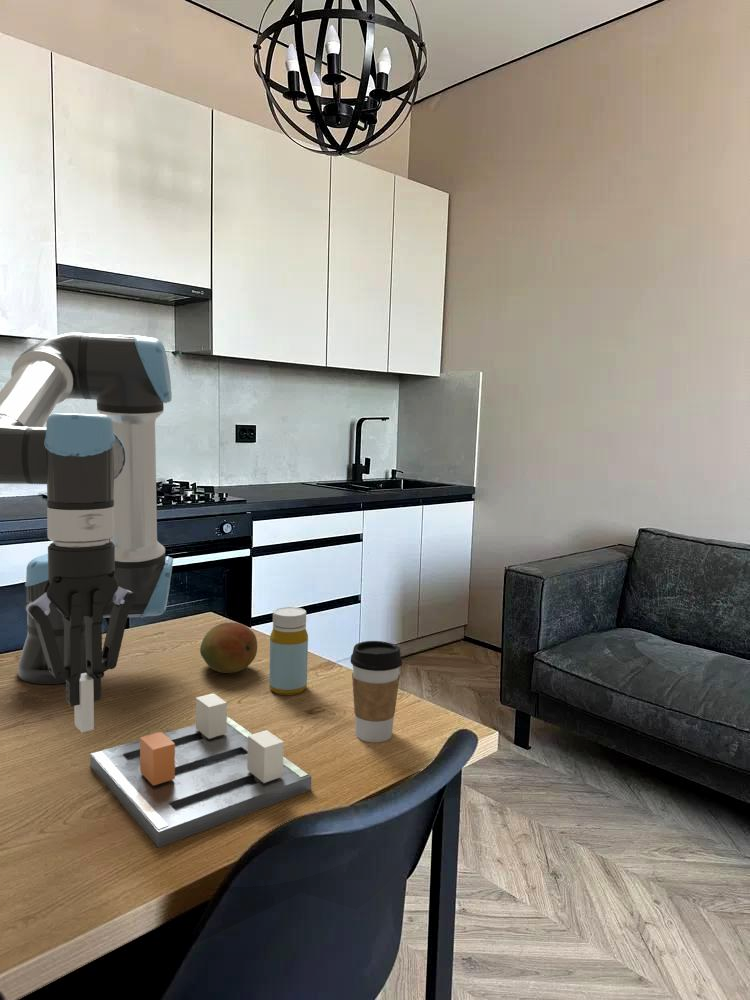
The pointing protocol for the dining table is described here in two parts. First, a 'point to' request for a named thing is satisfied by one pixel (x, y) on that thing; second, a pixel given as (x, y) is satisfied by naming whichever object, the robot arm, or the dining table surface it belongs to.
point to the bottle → (288, 651)
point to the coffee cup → (375, 688)
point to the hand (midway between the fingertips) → (84, 727)
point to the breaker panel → (194, 783)
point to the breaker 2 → (265, 756)
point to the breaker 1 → (211, 716)
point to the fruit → (229, 647)
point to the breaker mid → (157, 758)
